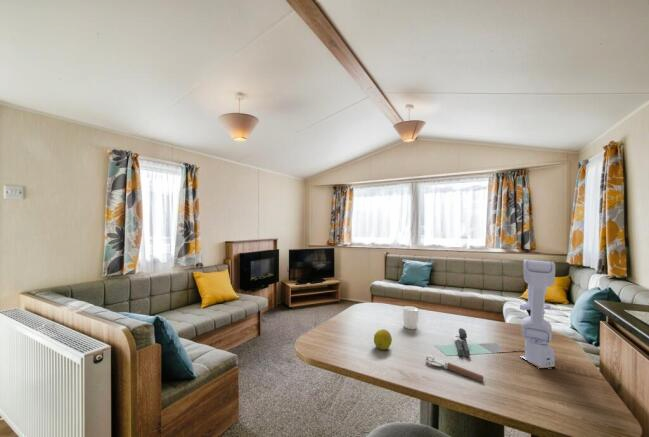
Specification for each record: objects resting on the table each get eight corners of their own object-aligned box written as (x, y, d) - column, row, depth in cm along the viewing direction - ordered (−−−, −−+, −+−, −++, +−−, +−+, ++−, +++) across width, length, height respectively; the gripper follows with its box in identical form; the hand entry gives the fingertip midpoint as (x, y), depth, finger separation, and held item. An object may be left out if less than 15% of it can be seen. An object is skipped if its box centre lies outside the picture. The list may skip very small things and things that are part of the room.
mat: (525, 351, 122) (525, 351, 122) (446, 355, 117) (446, 355, 117) (509, 342, 131) (509, 342, 131) (434, 345, 125) (434, 345, 125)
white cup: (416, 324, 151) (416, 306, 151) (419, 330, 143) (420, 311, 143) (401, 323, 152) (402, 305, 152) (404, 329, 144) (404, 310, 144)
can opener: (453, 338, 134) (453, 325, 134) (465, 340, 132) (465, 327, 132) (457, 356, 116) (457, 341, 116) (470, 358, 114) (470, 343, 114)
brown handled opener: (484, 380, 100) (485, 372, 100) (481, 388, 96) (481, 379, 96) (429, 358, 114) (429, 351, 114) (423, 364, 109) (424, 357, 109)
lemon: (386, 355, 115) (386, 336, 116) (369, 349, 120) (370, 331, 120) (395, 346, 124) (396, 328, 124) (379, 341, 129) (380, 324, 129)
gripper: (540, 293, 132) (540, 321, 132) (514, 293, 130) (513, 322, 130) (555, 297, 125) (554, 326, 125) (527, 298, 123) (527, 327, 123)
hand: (534, 324), depth 127 cm, fingers closed
